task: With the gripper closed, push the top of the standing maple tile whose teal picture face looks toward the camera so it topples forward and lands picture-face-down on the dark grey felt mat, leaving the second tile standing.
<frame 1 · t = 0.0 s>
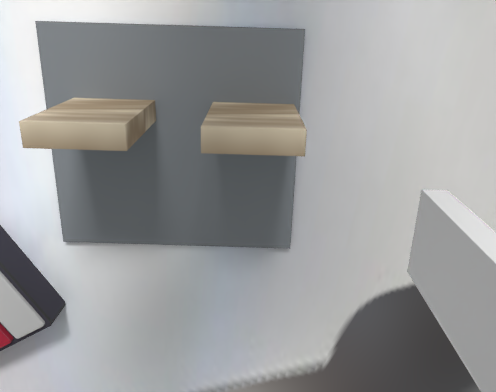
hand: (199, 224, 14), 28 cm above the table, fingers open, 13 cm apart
tile 2: (253, 113, 40), resting on mat
tile: (115, 109, 40), resting on mat
mat: (174, 143, 42), on the table
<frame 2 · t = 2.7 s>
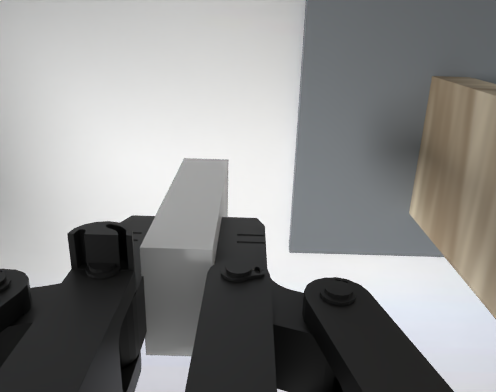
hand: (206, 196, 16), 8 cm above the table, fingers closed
tile: (438, 149, 23), resting on mat
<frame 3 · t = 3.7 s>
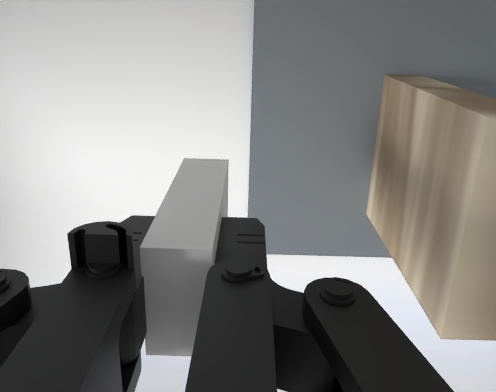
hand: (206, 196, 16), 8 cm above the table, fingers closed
tile: (393, 148, 23), resting on mat
mat: (470, 42, 21), on the table
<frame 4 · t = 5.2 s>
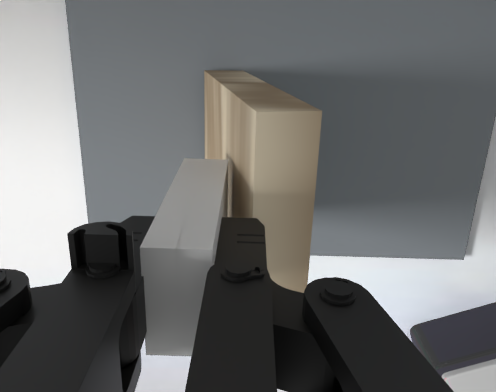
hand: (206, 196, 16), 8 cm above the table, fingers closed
tile: (223, 144, 22), point 1 cm above the table, tilted 13°, touching mat
mat: (289, 37, 21), on the table
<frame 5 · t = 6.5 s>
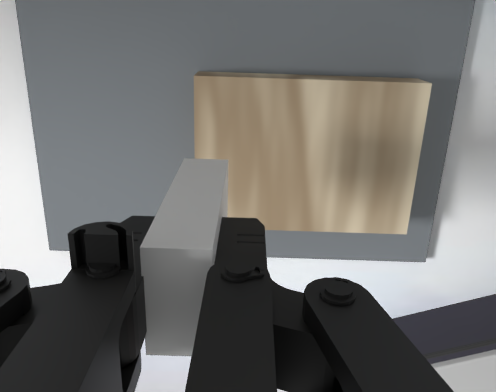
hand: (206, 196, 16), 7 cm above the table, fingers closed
tile: (196, 150, 21), point 2 cm above the table, tilted 90°, touching mat
mat: (243, 37, 21), on the table
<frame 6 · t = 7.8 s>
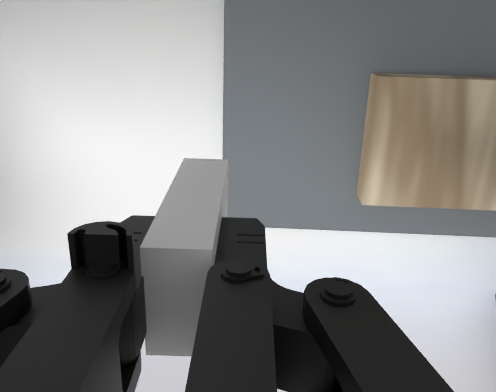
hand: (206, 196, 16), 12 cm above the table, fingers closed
tile: (366, 139, 25), point 2 cm above the table, tilted 90°, touching mat
mat: (408, 44, 25), on the table
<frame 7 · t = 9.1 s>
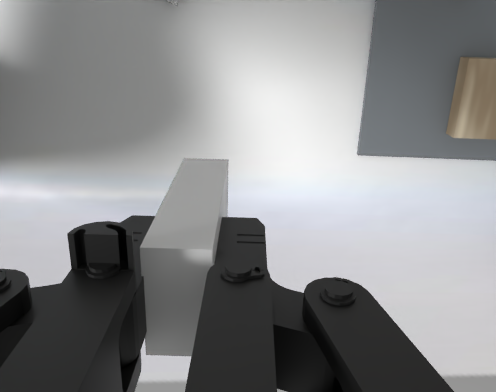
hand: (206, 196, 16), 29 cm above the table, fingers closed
tile: (456, 97, 42), point 2 cm above the table, tilted 90°, touching mat
mat: (483, 39, 41), on the table
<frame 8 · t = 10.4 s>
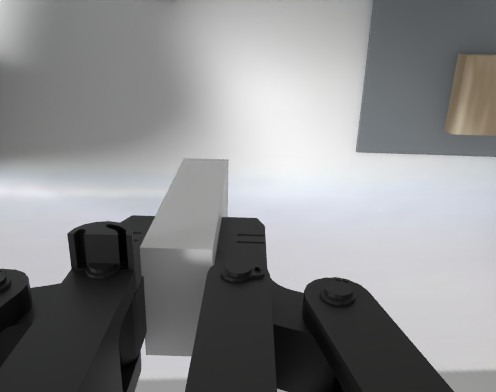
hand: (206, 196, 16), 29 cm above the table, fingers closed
tile: (454, 94, 42), point 2 cm above the table, tilted 90°, touching mat
mat: (480, 36, 42), on the table
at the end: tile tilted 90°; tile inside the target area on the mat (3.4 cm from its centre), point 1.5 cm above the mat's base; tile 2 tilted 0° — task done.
